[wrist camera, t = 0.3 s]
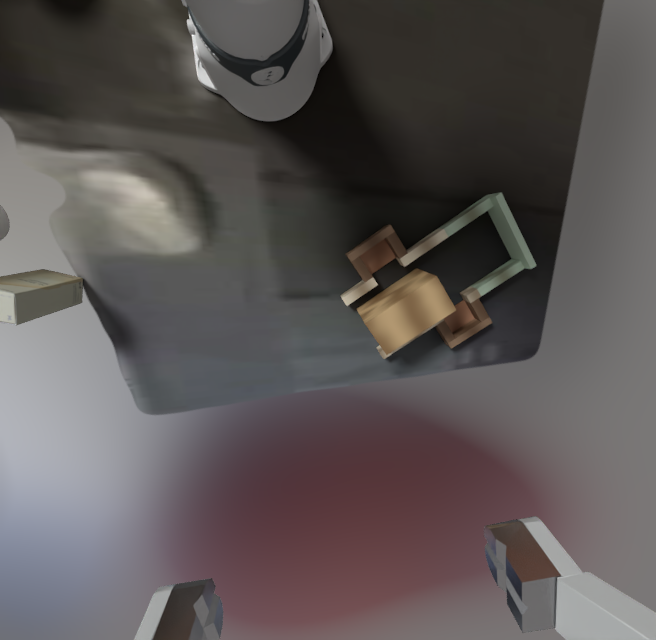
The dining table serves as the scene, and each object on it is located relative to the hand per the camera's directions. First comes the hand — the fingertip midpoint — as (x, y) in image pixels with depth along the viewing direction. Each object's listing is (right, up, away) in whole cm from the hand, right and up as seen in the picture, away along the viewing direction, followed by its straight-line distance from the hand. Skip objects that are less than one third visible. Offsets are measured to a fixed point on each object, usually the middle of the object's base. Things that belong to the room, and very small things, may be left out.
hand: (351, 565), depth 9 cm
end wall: (+28, +22, +43) cm, 56 cm away
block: (+11, +10, +46) cm, 48 cm away
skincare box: (-43, +13, +42) cm, 61 cm away
